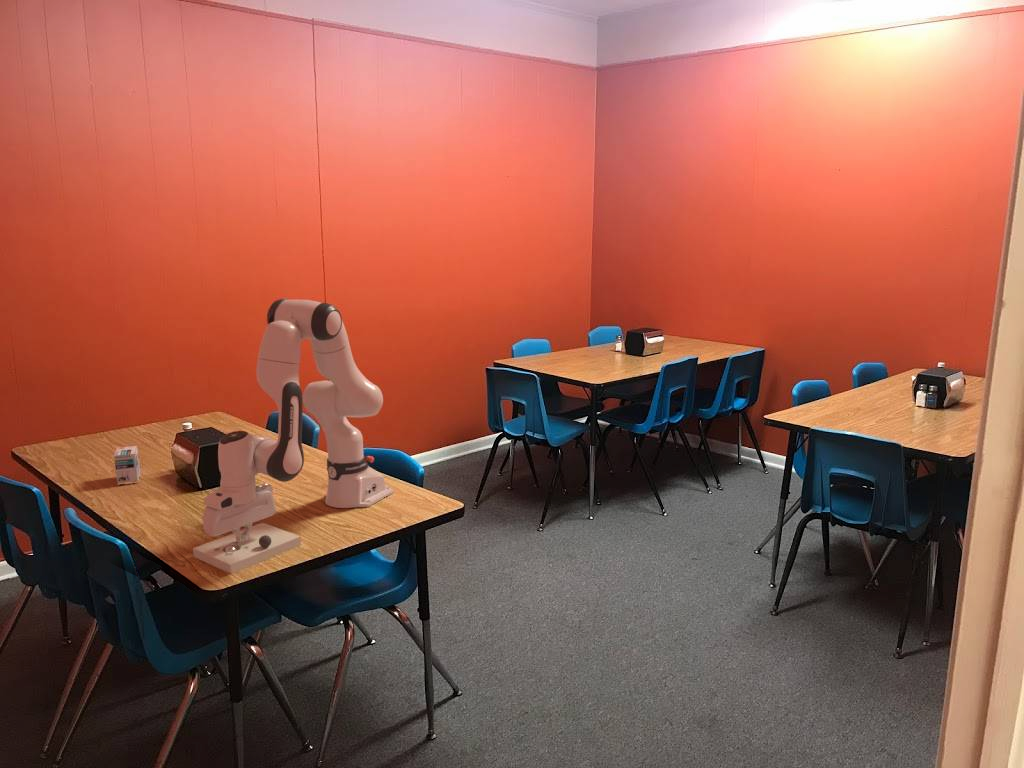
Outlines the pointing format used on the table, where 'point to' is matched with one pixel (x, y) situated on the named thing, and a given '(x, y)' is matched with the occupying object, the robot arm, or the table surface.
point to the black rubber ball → (265, 541)
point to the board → (246, 548)
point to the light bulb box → (127, 464)
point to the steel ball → (230, 549)
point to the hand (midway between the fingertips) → (242, 540)
